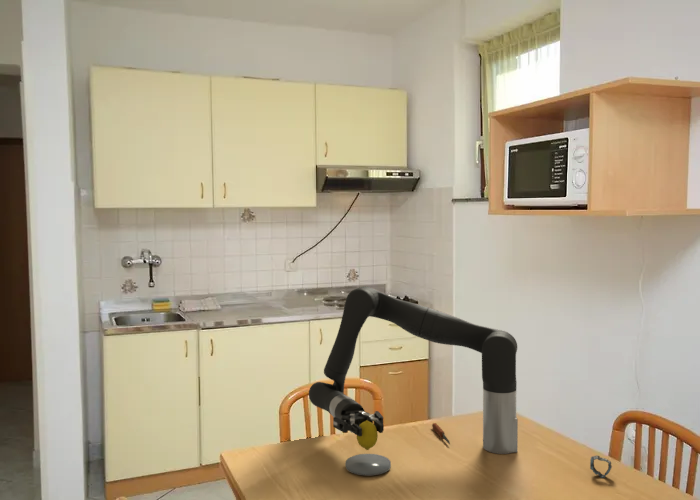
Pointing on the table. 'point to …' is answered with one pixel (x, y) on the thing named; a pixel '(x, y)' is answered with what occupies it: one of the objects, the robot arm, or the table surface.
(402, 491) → the table surface
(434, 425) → the kitchen knife
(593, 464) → the wristwatch
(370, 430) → the lemon
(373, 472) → the dish
